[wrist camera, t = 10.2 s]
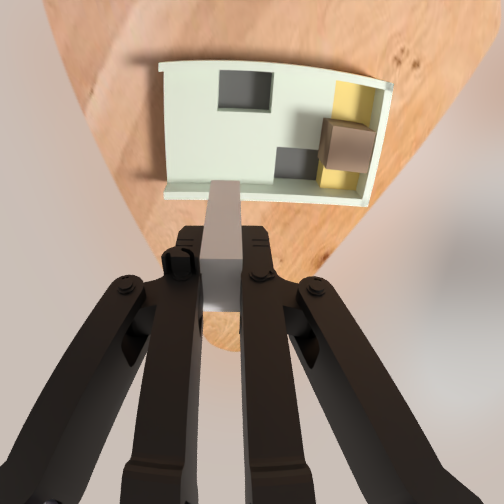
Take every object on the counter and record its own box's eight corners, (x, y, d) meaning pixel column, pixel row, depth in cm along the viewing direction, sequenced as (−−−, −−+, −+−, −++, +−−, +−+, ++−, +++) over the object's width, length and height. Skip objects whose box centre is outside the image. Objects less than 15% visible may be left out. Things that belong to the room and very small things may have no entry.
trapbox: (168, 61, 30) (158, 62, 26) (375, 78, 31) (393, 83, 27) (171, 182, 39) (164, 199, 35) (354, 189, 41) (367, 206, 37)
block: (323, 117, 32) (333, 125, 29) (362, 123, 33) (375, 132, 30) (317, 156, 35) (325, 169, 32) (355, 160, 36) (366, 173, 33)
